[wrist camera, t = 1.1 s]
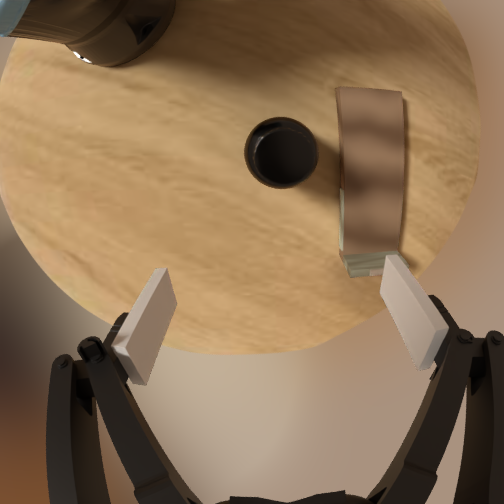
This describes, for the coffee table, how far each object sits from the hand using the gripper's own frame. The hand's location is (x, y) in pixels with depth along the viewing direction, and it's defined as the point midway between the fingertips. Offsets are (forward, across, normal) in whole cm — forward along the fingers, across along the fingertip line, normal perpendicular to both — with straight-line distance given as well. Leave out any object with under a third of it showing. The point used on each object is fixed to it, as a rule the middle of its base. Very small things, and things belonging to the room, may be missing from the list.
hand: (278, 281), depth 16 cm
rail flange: (+20, +13, +2) cm, 24 cm away
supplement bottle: (+20, +1, +5) cm, 21 cm away
